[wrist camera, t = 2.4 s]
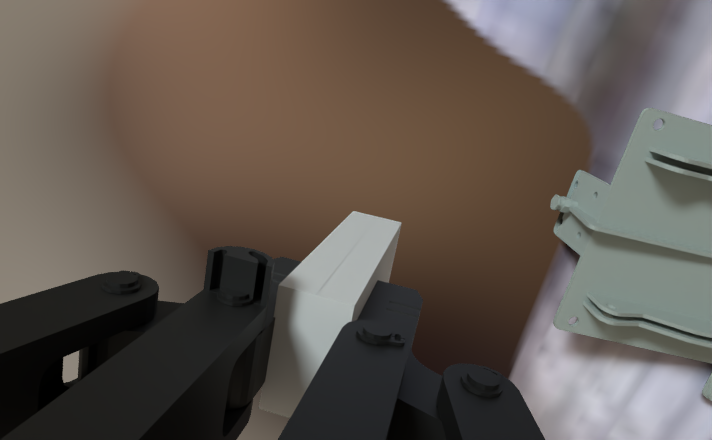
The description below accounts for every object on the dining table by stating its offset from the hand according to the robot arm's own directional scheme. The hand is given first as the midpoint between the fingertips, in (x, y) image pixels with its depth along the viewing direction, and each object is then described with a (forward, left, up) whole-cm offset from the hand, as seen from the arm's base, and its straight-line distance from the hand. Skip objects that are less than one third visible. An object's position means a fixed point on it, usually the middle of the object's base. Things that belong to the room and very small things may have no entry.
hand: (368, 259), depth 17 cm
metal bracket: (0, +14, -15) cm, 21 cm away
